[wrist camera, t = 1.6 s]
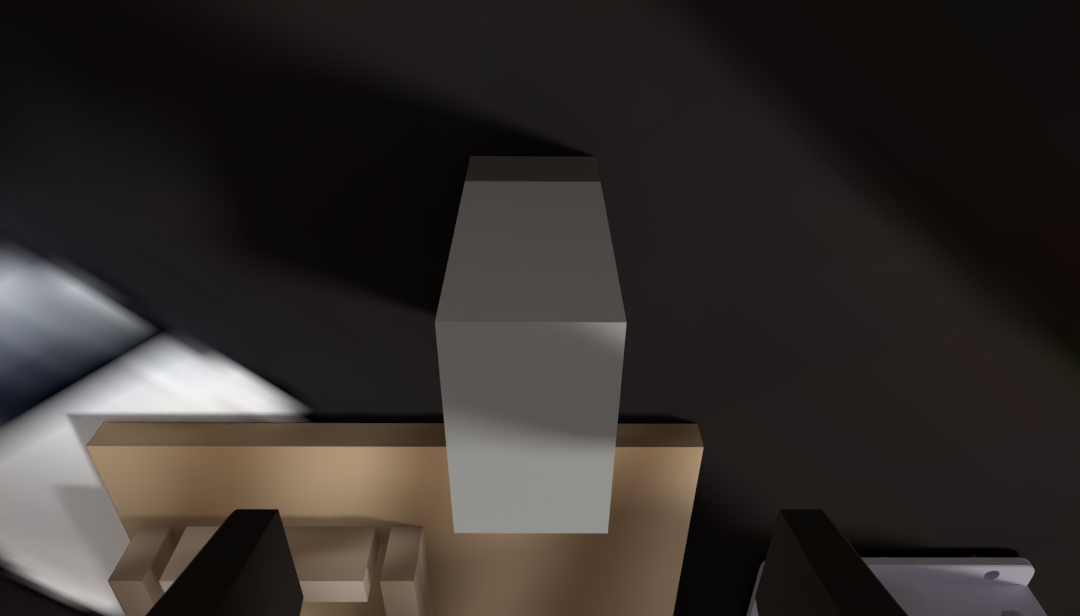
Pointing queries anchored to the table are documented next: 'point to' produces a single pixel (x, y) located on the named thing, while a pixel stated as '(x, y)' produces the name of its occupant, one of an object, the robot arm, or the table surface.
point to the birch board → (392, 519)
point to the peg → (531, 348)
